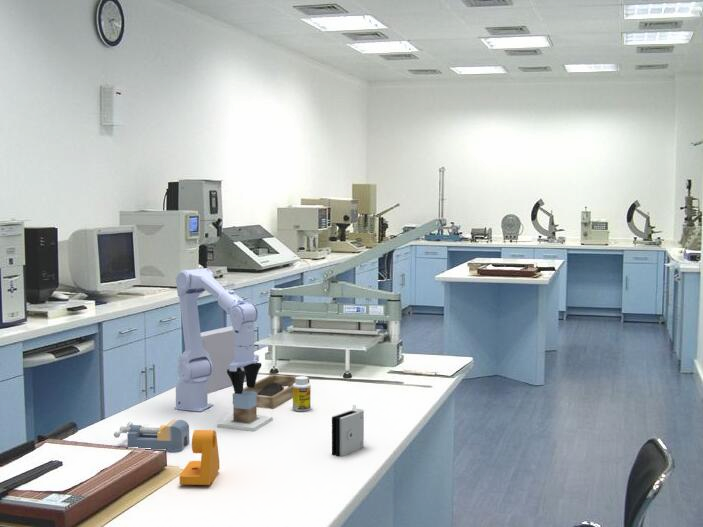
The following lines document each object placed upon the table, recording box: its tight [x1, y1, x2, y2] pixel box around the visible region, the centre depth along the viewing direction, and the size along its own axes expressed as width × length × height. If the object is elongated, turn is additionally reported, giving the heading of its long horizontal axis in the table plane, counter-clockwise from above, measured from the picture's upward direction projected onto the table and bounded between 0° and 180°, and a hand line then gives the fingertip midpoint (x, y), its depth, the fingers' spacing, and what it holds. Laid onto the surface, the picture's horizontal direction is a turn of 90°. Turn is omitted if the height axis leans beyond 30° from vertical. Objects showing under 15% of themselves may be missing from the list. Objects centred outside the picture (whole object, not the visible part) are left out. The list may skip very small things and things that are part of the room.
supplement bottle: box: [292, 375, 311, 412], centre depth 252 cm, size 6×6×10 cm
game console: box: [191, 325, 246, 394], centre depth 282 cm, size 6×27×20 cm, turn 148°
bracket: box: [179, 429, 221, 486], centre depth 191 cm, size 11×7×12 cm
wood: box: [257, 382, 284, 396], centre depth 270 cm, size 22×8×3 cm, turn 170°
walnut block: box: [232, 406, 258, 423], centre depth 237 cm, size 5×5×4 cm
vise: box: [113, 419, 190, 454], centre depth 216 cm, size 18×10×7 cm, turn 83°
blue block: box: [232, 391, 257, 409], centre depth 237 cm, size 5×5×4 cm
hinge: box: [331, 404, 365, 457], centre depth 214 cm, size 14×5×10 cm, turn 153°
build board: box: [216, 414, 274, 432], centre depth 237 cm, size 12×12×1 cm
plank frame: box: [232, 374, 310, 409], centre depth 269 cm, size 14×28×4 cm, turn 159°
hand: (244, 390), depth 236 cm, fingers open, 7 cm apart
